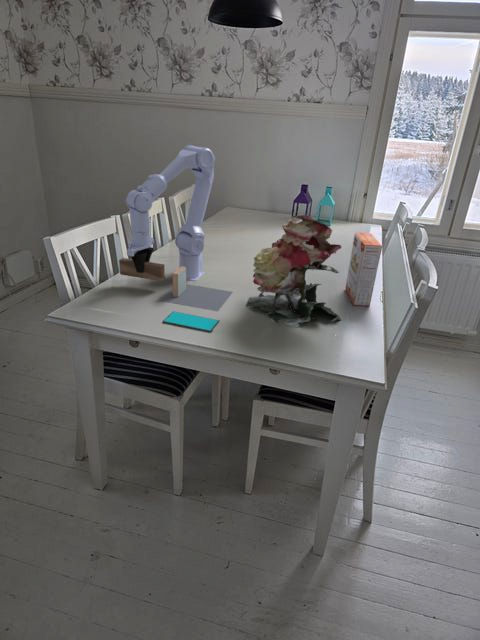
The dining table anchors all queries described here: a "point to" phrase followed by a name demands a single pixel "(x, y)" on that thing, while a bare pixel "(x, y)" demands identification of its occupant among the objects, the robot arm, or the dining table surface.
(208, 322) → the smartphone
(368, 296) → the cracker box
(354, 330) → the dining table surface
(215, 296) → the mat
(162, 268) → the brown wooden plank
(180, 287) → the tile
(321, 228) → the rose bouquet
